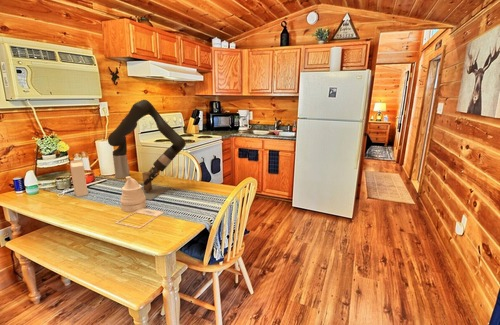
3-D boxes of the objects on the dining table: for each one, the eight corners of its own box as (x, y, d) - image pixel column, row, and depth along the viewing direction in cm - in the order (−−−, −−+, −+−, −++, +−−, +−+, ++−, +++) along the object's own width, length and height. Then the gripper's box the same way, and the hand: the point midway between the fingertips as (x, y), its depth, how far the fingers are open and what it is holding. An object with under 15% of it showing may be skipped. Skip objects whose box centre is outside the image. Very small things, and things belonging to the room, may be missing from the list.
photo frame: (163, 211, 136) (139, 227, 120) (164, 213, 136) (139, 229, 120) (141, 207, 141) (115, 222, 124) (141, 209, 141) (115, 224, 124)
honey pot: (137, 212, 136) (133, 180, 131) (115, 210, 138) (111, 178, 134) (151, 203, 148) (148, 173, 144) (131, 201, 151) (127, 171, 146)
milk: (88, 194, 160) (83, 160, 154) (76, 197, 156) (70, 162, 150) (85, 191, 164) (80, 158, 158) (74, 194, 160) (69, 159, 154)
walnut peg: (147, 187, 166) (145, 171, 164) (153, 188, 165) (152, 172, 163) (142, 190, 162) (140, 173, 159) (149, 191, 161) (147, 174, 158)
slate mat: (146, 185, 176) (146, 184, 176) (169, 188, 173) (169, 187, 172) (124, 197, 156) (124, 196, 155) (150, 200, 152) (150, 199, 152)
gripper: (156, 156, 168) (138, 176, 166) (159, 161, 156) (140, 183, 154) (165, 163, 172) (147, 183, 170) (169, 168, 160) (150, 189, 157)
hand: (144, 182), depth 162 cm, fingers closed on walnut peg, 4 cm apart
